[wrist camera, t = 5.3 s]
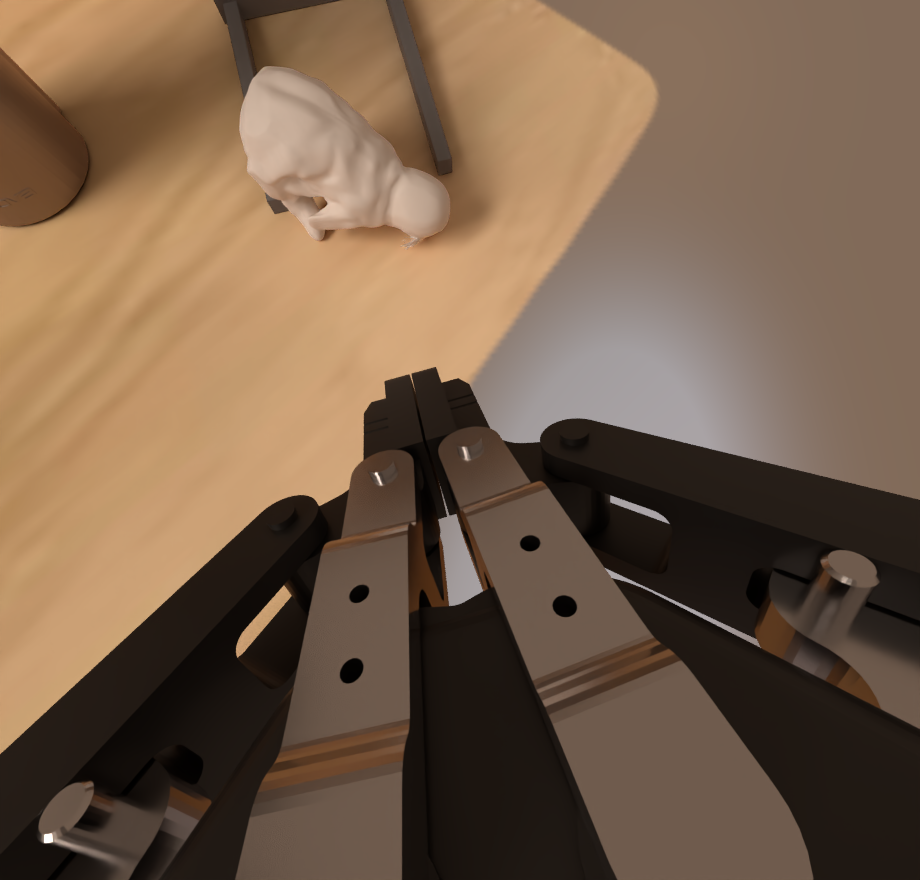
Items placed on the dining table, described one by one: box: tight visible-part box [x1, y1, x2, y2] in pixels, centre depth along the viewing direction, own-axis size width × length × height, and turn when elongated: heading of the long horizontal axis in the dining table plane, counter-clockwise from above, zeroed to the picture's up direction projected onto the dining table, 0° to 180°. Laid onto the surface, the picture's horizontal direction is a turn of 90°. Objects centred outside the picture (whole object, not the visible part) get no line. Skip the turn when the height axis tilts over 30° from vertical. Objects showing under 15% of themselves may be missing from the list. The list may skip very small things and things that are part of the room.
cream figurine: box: [239, 66, 450, 250], centre depth 25 cm, size 6×8×12 cm
